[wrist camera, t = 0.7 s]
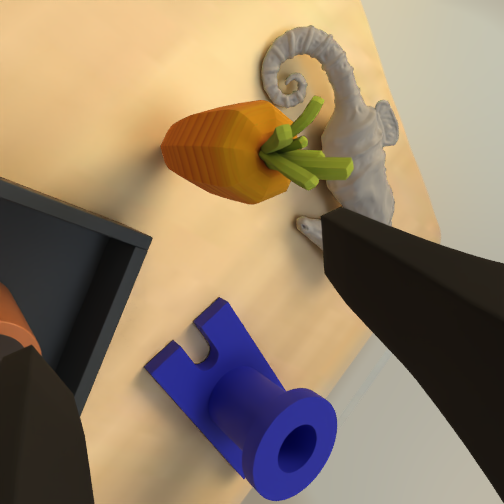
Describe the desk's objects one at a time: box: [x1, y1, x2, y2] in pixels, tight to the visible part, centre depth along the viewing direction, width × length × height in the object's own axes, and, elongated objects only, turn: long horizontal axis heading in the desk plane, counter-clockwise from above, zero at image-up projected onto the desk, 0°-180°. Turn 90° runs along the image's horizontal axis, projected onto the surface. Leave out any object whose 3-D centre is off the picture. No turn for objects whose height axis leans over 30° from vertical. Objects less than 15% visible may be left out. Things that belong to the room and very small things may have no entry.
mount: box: [144, 297, 337, 501], centre depth 33 cm, size 15×8×9 cm, turn 31°
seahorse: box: [261, 25, 399, 250], centre depth 36 cm, size 5×12×20 cm
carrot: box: [160, 96, 354, 204], centre depth 23 cm, size 5×5×15 cm
